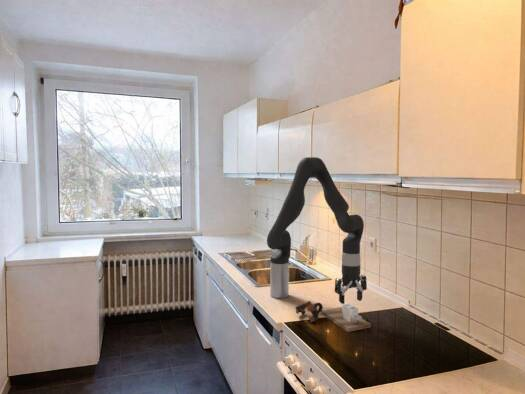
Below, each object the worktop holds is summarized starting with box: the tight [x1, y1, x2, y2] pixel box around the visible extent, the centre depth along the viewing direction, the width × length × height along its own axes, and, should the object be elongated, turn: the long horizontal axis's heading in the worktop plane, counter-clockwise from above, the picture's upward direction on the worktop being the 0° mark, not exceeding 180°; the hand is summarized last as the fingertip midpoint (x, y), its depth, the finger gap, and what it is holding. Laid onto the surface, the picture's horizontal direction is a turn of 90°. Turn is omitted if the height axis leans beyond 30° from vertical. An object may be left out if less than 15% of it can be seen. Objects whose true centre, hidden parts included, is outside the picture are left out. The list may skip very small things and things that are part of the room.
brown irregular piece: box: [295, 300, 324, 323], centre depth 163 cm, size 12×10×8 cm
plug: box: [341, 302, 363, 323], centre depth 156 cm, size 11×4×6 cm, turn 23°
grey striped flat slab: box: [320, 306, 372, 333], centre depth 160 cm, size 20×11×2 cm, turn 23°
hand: (350, 301), depth 157 cm, fingers open, 8 cm apart
